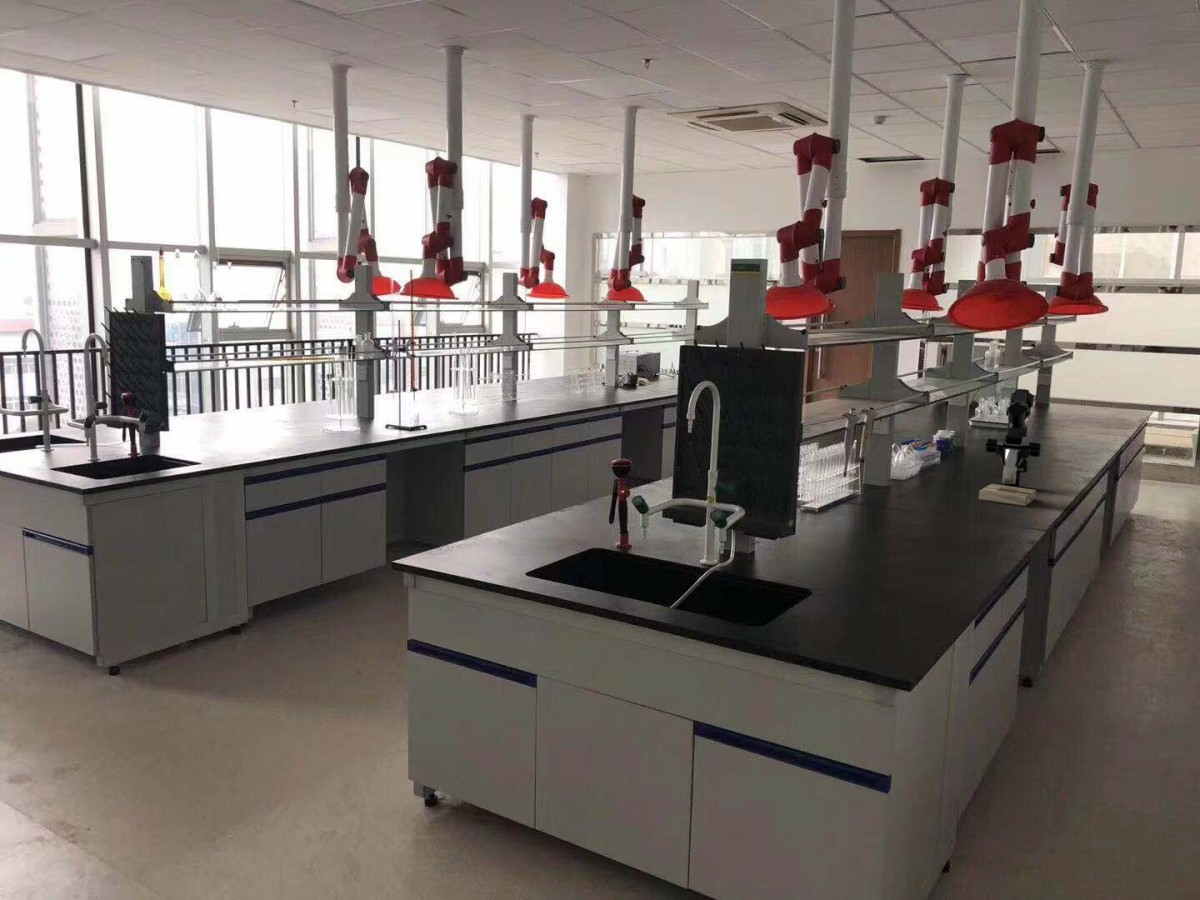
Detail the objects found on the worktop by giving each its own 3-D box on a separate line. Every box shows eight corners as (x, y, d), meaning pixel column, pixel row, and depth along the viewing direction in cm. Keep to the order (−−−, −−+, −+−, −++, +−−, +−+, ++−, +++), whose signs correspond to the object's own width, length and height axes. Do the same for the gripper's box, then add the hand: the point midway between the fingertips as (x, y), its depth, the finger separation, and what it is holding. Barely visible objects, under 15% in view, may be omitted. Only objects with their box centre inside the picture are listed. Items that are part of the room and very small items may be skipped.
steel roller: (1000, 481, 345) (1003, 448, 343) (1011, 481, 346) (1014, 448, 343) (1006, 483, 341) (1009, 450, 339) (1017, 483, 341) (1020, 450, 339)
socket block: (990, 492, 355) (991, 483, 355) (1034, 499, 346) (1035, 490, 345) (978, 499, 343) (979, 490, 342) (1024, 506, 333) (1025, 497, 333)
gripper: (988, 417, 347) (983, 450, 339) (1043, 421, 338) (1039, 455, 331) (988, 434, 355) (982, 467, 347) (1041, 439, 347) (1037, 473, 339)
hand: (1010, 465), depth 341 cm, fingers closed on steel roller, 4 cm apart
